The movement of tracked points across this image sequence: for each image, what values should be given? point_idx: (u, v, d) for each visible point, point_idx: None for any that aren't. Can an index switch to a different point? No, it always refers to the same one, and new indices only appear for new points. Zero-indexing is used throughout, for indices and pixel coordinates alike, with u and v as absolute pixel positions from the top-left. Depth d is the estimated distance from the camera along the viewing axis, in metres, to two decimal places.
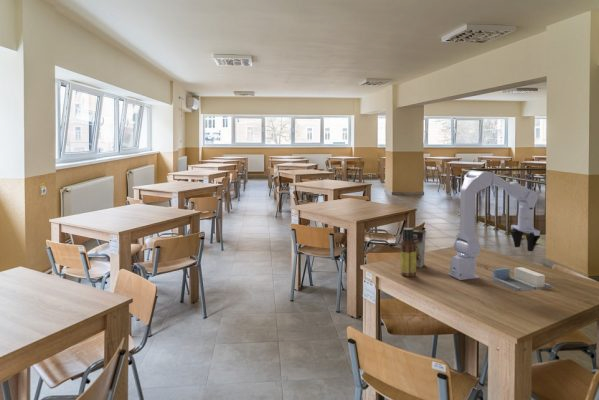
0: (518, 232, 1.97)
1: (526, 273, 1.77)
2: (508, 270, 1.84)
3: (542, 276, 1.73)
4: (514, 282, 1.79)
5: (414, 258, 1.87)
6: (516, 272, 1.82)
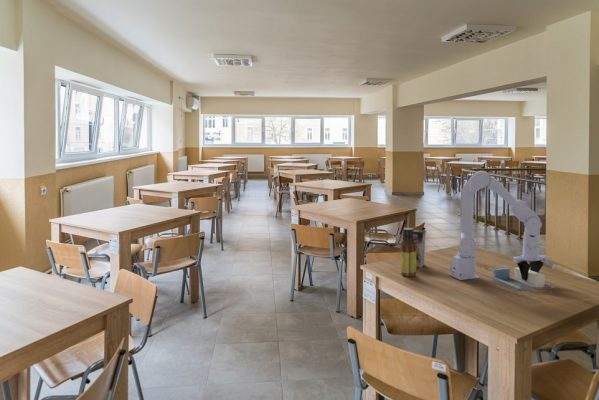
0: (534, 263, 1.78)
1: None
2: (508, 270, 1.84)
3: (542, 276, 1.73)
4: (514, 282, 1.79)
5: (414, 258, 1.87)
6: (516, 272, 1.82)
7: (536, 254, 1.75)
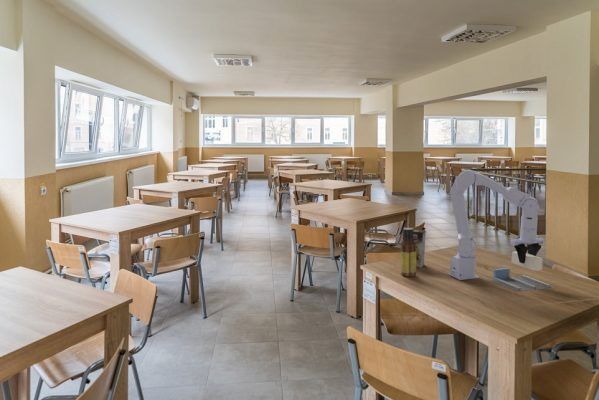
0: (531, 246, 1.77)
1: None
2: (508, 270, 1.84)
3: (540, 259, 1.71)
4: (514, 282, 1.79)
5: (414, 258, 1.87)
6: (514, 256, 1.81)
7: (534, 237, 1.73)
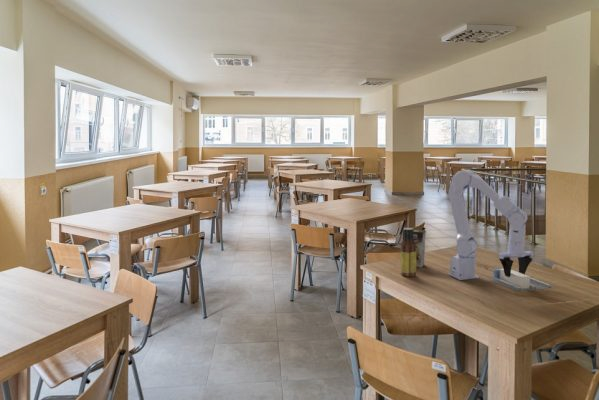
0: (522, 258, 1.77)
1: (511, 274, 1.76)
2: None
3: (527, 277, 1.71)
4: None
5: (414, 258, 1.87)
6: (501, 273, 1.81)
7: (522, 250, 1.73)
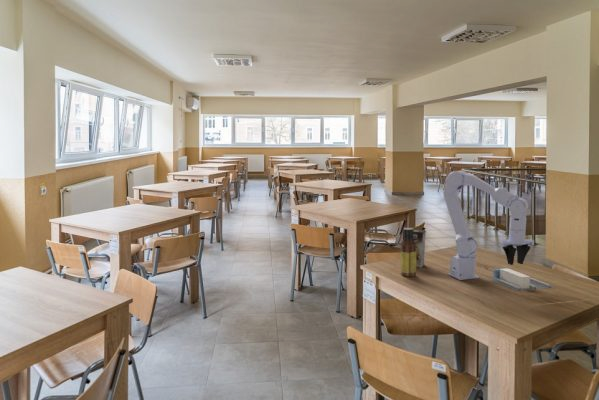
0: (520, 247, 1.76)
1: (511, 274, 1.76)
2: None
3: (527, 277, 1.71)
4: None
5: (414, 258, 1.87)
6: (501, 273, 1.81)
7: (523, 238, 1.72)
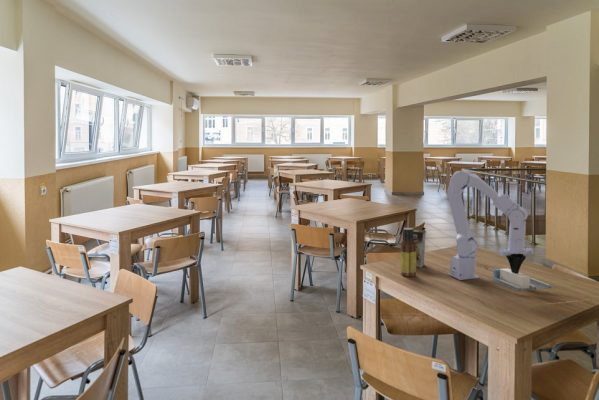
0: None
1: (511, 274, 1.76)
2: None
3: (527, 277, 1.71)
4: None
5: (414, 258, 1.87)
6: (501, 273, 1.81)
7: (522, 247, 1.73)
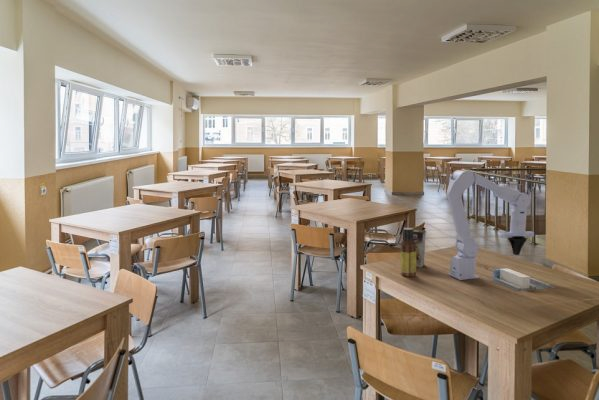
0: None
1: (511, 274, 1.76)
2: None
3: (527, 277, 1.71)
4: None
5: (414, 258, 1.87)
6: (501, 273, 1.81)
7: (523, 230, 1.83)
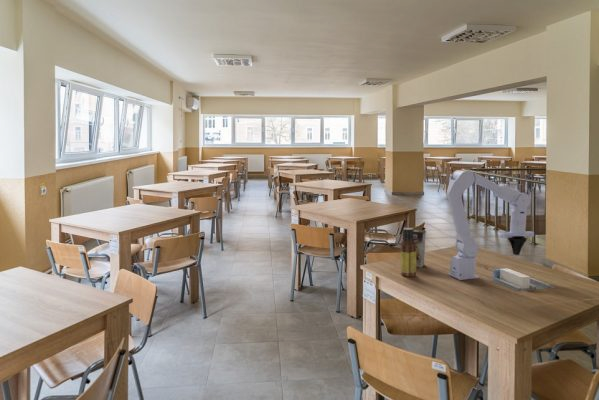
0: None
1: (511, 274, 1.76)
2: None
3: (527, 277, 1.71)
4: None
5: (414, 258, 1.87)
6: (501, 273, 1.81)
7: (523, 230, 1.83)
